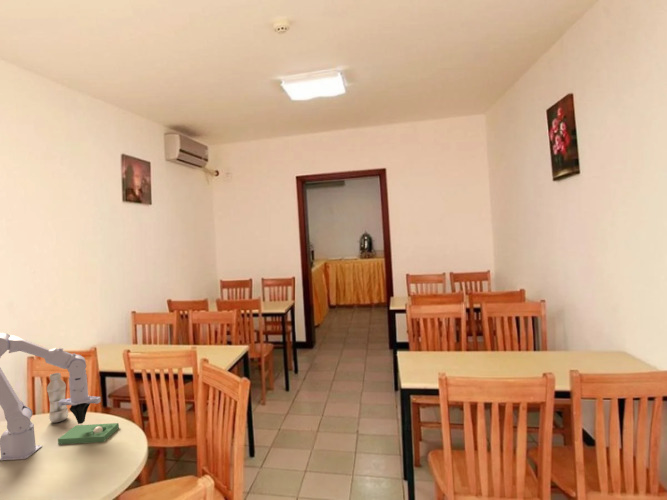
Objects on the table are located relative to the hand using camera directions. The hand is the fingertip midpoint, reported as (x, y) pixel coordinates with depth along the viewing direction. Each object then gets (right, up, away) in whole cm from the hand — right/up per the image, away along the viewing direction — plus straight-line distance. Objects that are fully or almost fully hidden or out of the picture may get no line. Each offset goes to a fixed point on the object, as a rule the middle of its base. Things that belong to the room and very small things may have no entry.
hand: (81, 422), depth 148 cm
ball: (+6, -3, 0) cm, 7 cm away
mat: (+3, -5, 0) cm, 6 cm away
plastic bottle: (-19, -6, +14) cm, 24 cm away
